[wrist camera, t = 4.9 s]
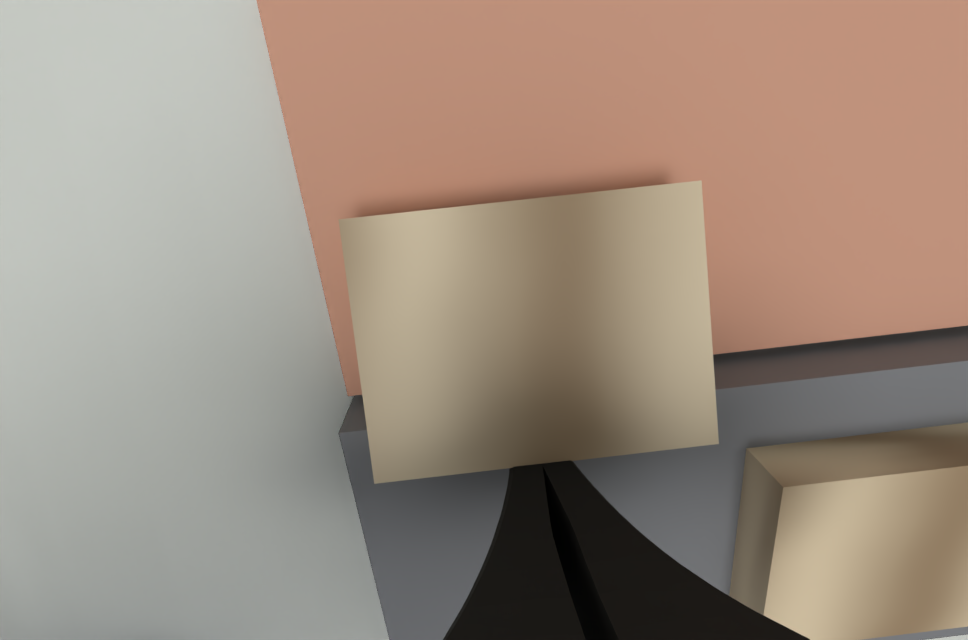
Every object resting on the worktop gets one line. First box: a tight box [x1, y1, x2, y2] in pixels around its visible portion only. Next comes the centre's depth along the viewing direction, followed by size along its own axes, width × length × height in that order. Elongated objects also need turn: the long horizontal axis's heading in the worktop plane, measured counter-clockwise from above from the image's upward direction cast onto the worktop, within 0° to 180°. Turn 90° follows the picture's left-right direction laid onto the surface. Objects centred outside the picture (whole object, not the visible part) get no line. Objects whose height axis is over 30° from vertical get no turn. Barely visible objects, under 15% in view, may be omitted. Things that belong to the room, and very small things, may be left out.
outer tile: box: [729, 423, 968, 640], centre depth 14 cm, size 8×6×2 cm
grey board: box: [339, 326, 968, 640], centre depth 15 cm, size 20×11×2 cm, turn 96°
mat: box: [257, 0, 968, 396], centre depth 12 cm, size 20×10×1 cm, turn 96°
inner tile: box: [338, 180, 719, 484], centre depth 11 cm, size 8×6×2 cm
